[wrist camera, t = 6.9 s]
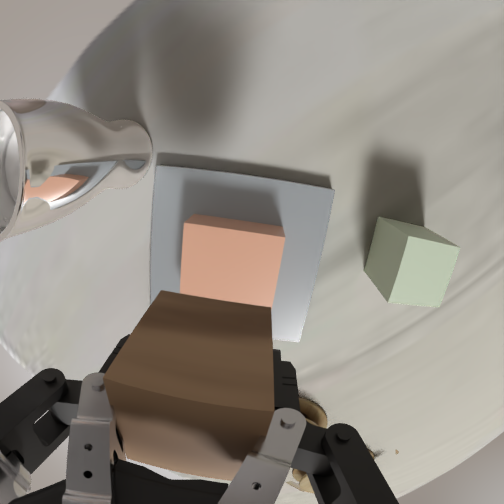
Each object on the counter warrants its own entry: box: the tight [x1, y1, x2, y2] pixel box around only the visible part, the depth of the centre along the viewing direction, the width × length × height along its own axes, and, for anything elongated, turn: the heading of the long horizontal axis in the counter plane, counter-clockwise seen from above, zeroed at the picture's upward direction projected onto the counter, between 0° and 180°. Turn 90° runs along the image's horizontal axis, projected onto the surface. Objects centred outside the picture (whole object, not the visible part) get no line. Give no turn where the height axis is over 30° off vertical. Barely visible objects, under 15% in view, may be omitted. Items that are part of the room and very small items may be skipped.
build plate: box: [151, 165, 335, 342], centre depth 23 cm, size 14×14×4 cm
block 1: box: [103, 290, 274, 481], centre depth 11 cm, size 5×5×6 cm
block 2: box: [364, 217, 460, 308], centre depth 21 cm, size 5×5×6 cm
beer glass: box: [0, 99, 152, 242], centre depth 15 cm, size 7×7×15 cm
